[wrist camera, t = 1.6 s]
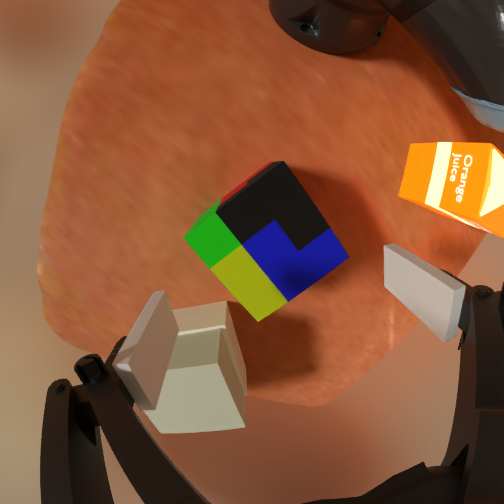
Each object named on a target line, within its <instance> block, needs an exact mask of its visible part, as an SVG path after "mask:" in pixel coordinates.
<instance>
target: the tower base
mask: <svg viewBox="0 0 504 504" xmlns="http://www.w3.org/2000/svg"><path fill="white" fill-rule="evenodd" d="M172 311H173V314H174V316H175V319H176V322H177V325H178V327H179V332H178V335H184V334H190V333H195V332H201V331H207V330H212V329H218V328H221V330H222V333H223V336H224V339H225V342H226V345H227V347H228V350H229V353H230V356H231V359H232V361H233V364H234V367H235V369H236V372H237V375H238V377H239V380H240V383H241V385H242V388H243V391H244V396H247V378H246V367H245V363H244V360H243V356H242V353H241V350H240V346H239V343H238V339H237V336H236V332H235V329H234V325H233V321H232V318H231V314H230V311H229V307H228V303H227V301H222V302H216V303H211V304H205V305H199V306H194V307H188V308H182V309H175V310H172Z"/></svg>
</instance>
